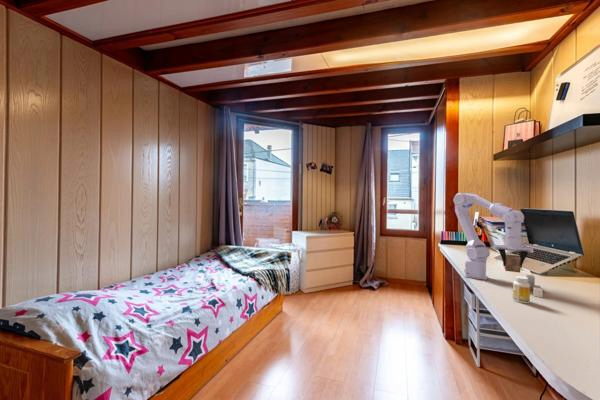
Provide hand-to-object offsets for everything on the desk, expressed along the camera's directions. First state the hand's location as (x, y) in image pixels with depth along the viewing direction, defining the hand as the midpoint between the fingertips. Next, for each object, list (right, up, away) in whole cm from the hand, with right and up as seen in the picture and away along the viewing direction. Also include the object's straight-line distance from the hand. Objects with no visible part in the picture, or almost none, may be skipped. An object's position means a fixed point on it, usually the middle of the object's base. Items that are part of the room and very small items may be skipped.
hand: (512, 266), depth 129 cm
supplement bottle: (-9, -10, -17) cm, 22 cm away
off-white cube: (+3, -10, -11) cm, 15 cm away
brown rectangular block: (0, -2, 0) cm, 2 cm away
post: (+7, -10, -2) cm, 12 cm away
